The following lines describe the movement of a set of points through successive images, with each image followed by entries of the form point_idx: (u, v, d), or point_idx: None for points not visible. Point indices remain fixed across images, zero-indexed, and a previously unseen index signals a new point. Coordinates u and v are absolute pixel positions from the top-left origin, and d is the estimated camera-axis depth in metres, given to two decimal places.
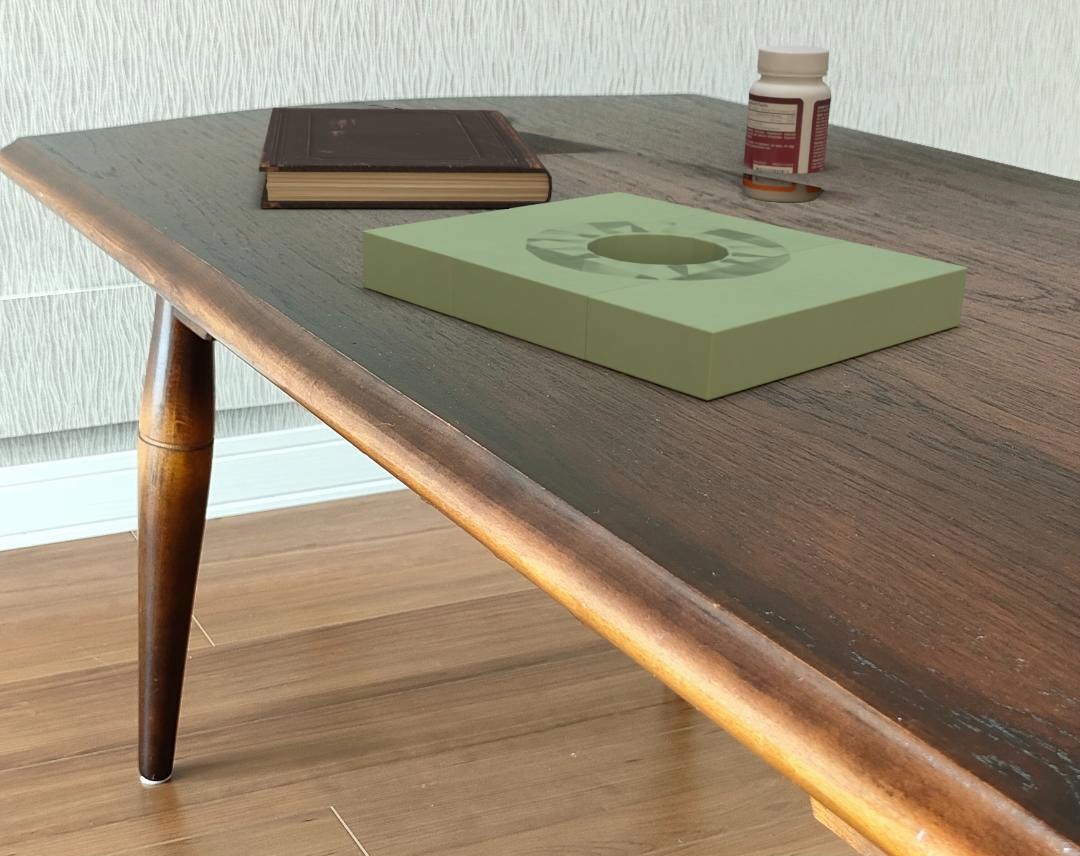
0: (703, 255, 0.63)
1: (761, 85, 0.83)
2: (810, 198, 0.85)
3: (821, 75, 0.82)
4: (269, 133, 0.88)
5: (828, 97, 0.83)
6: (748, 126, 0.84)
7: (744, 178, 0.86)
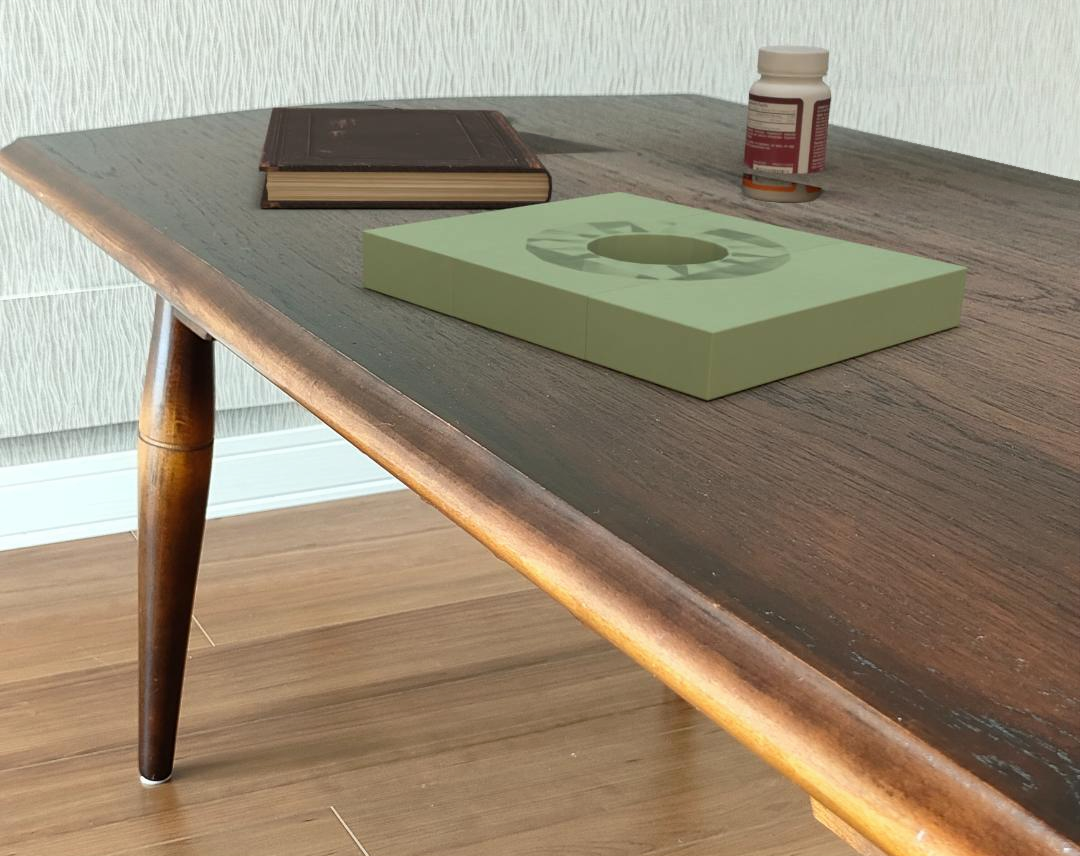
0: (703, 255, 0.63)
1: (761, 85, 0.83)
2: (810, 198, 0.85)
3: (821, 75, 0.82)
4: (269, 133, 0.88)
5: (828, 97, 0.83)
6: (748, 126, 0.84)
7: (744, 178, 0.86)
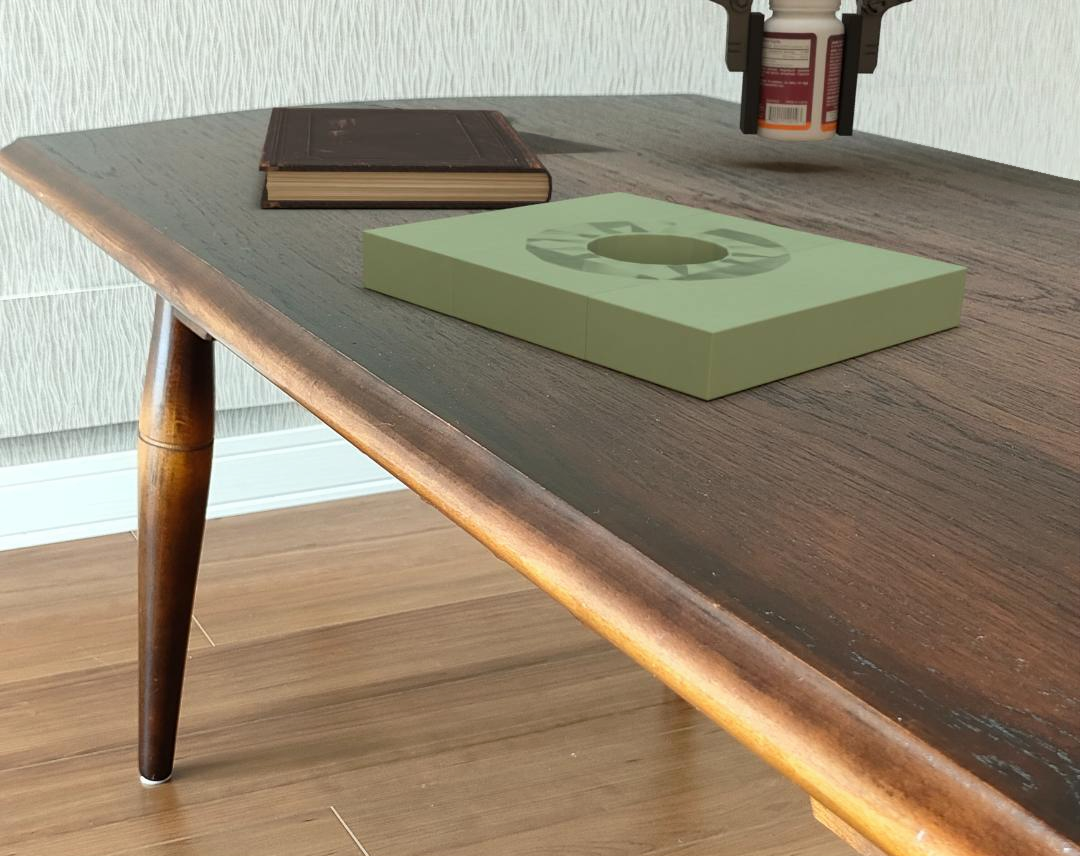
0: (703, 255, 0.63)
1: (773, 21, 0.81)
2: (824, 136, 0.83)
3: (834, 9, 0.81)
4: (269, 133, 0.88)
5: (842, 32, 0.81)
6: None
7: None
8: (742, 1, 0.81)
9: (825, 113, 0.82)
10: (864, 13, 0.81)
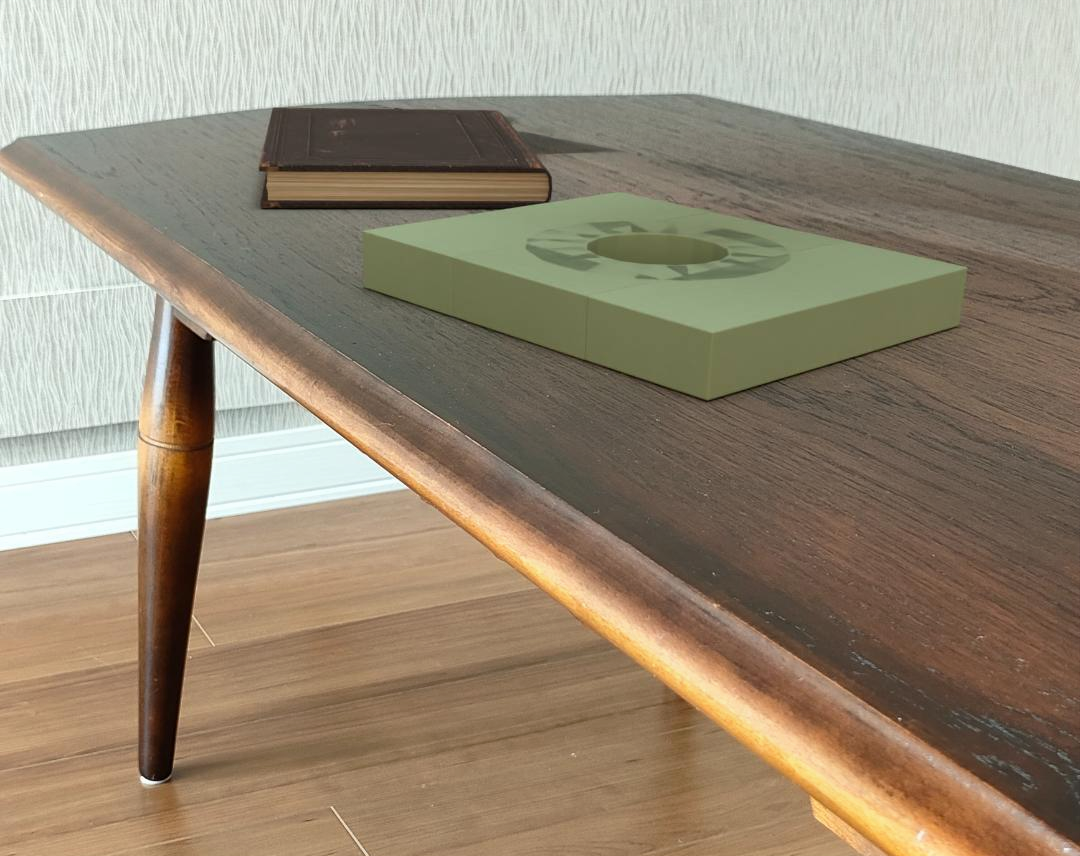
0: (703, 255, 0.63)
1: None
2: None
3: None
4: (269, 133, 0.88)
5: None
6: None
7: None
8: None
9: None
10: None
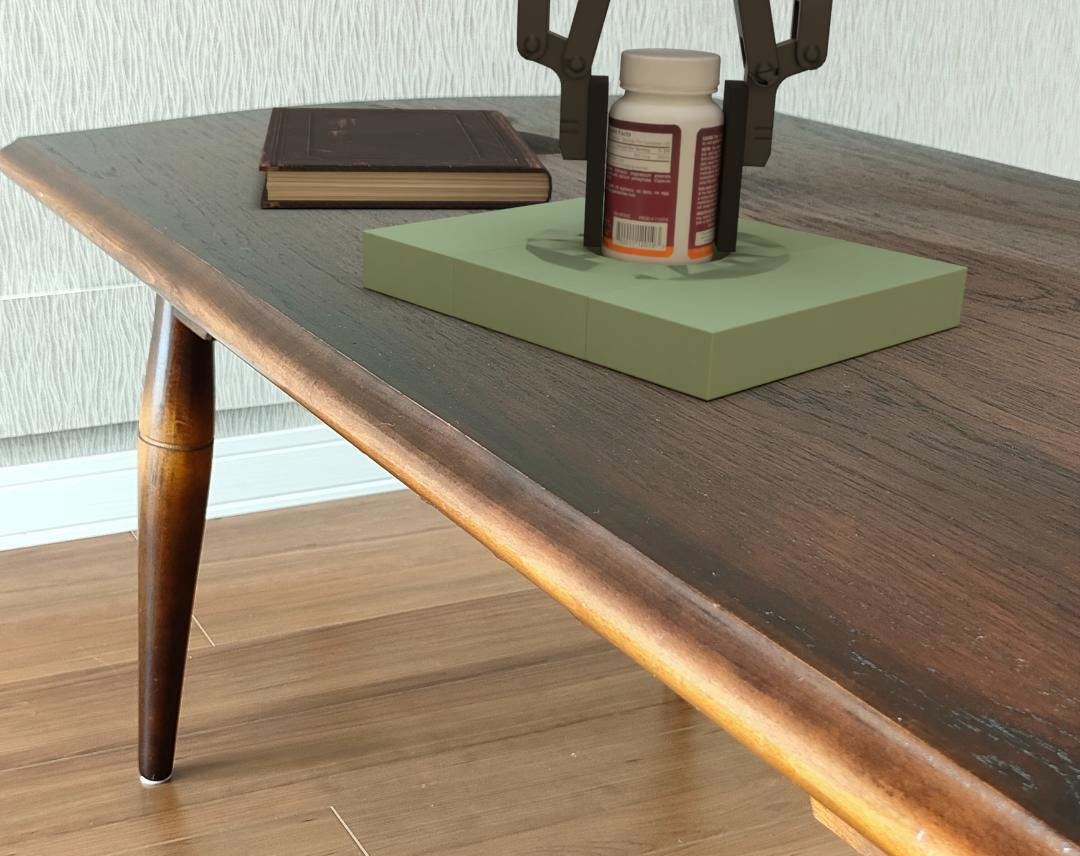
0: None
1: (622, 104, 0.58)
2: None
3: (708, 92, 0.57)
4: (269, 133, 0.88)
5: (719, 123, 0.58)
6: (607, 162, 0.59)
7: (603, 235, 0.60)
8: (577, 64, 0.57)
9: (693, 234, 0.59)
10: (752, 83, 0.58)
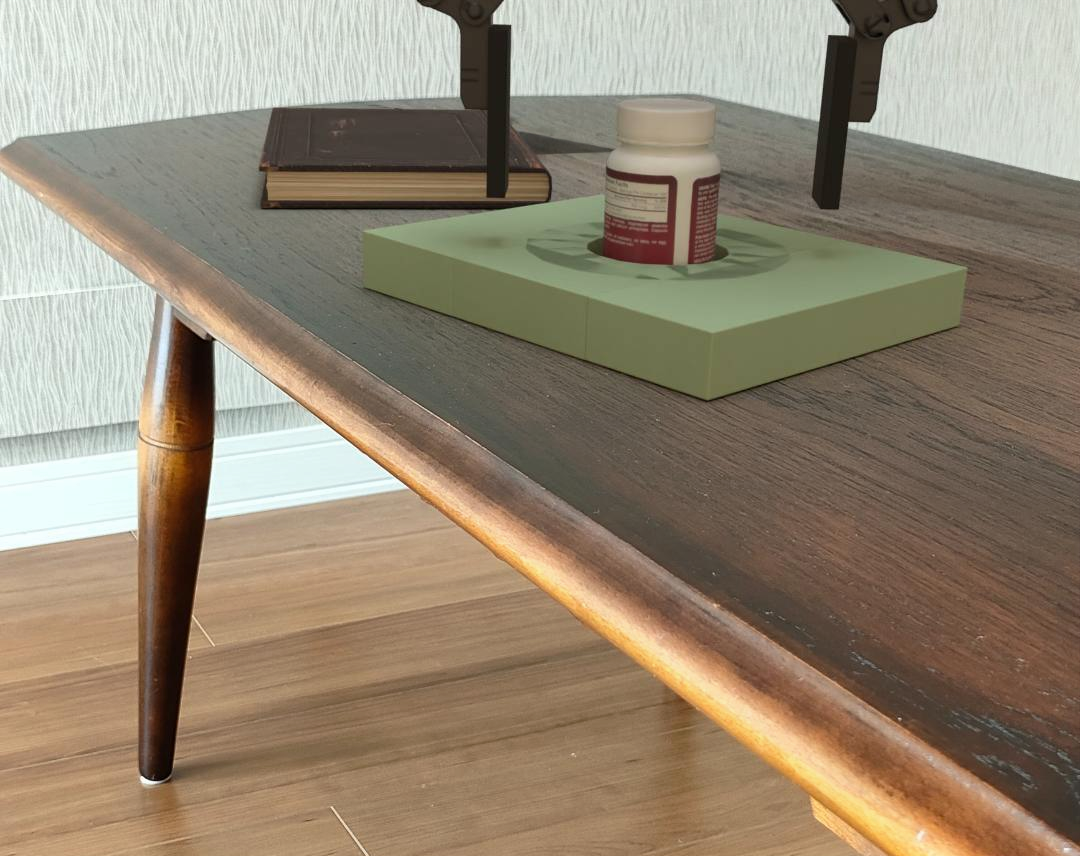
0: None
1: (619, 155, 0.59)
2: None
3: (703, 142, 0.58)
4: (269, 133, 0.88)
5: (715, 173, 0.59)
6: (605, 211, 0.60)
7: None
8: (474, 10, 0.56)
9: None
10: (866, 40, 0.57)
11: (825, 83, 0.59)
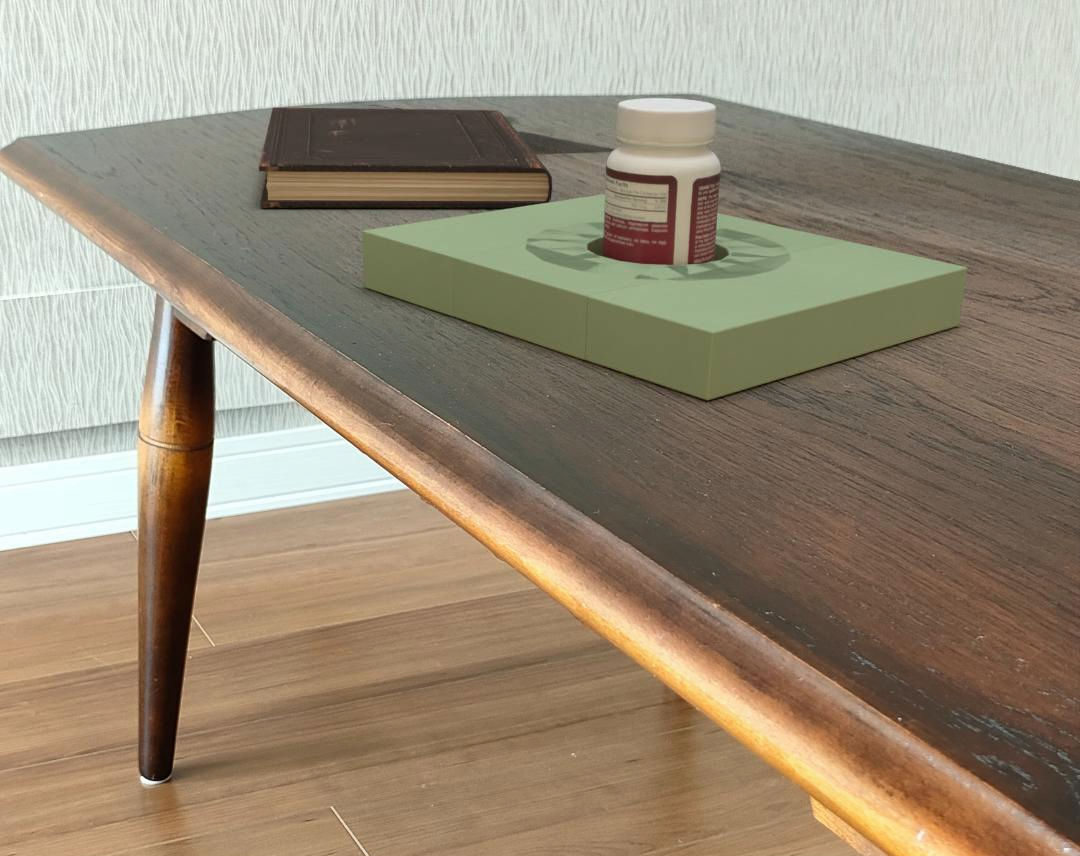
0: None
1: (619, 155, 0.59)
2: None
3: (703, 142, 0.58)
4: (269, 133, 0.88)
5: (715, 173, 0.59)
6: (605, 211, 0.60)
7: None
8: None
9: None
10: None
11: None
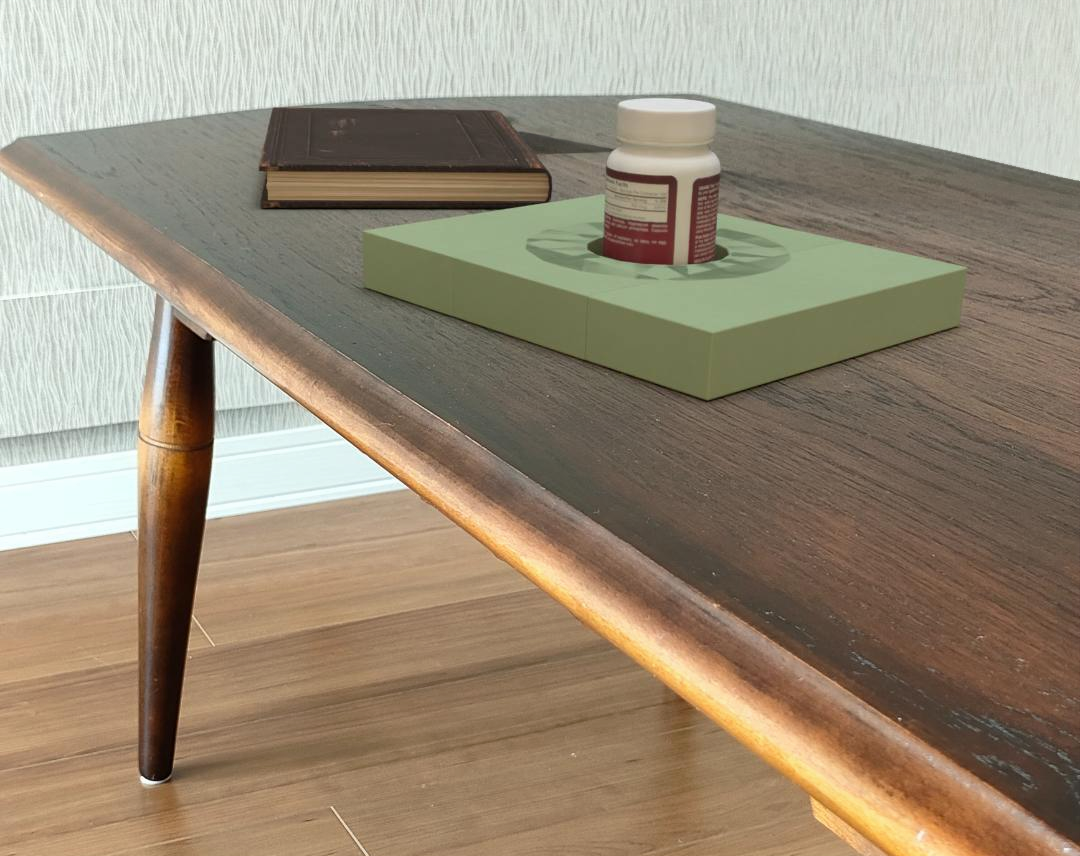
0: None
1: (619, 155, 0.59)
2: None
3: (703, 142, 0.58)
4: (269, 133, 0.88)
5: (715, 173, 0.59)
6: (605, 211, 0.60)
7: None
8: None
9: None
10: None
11: None
